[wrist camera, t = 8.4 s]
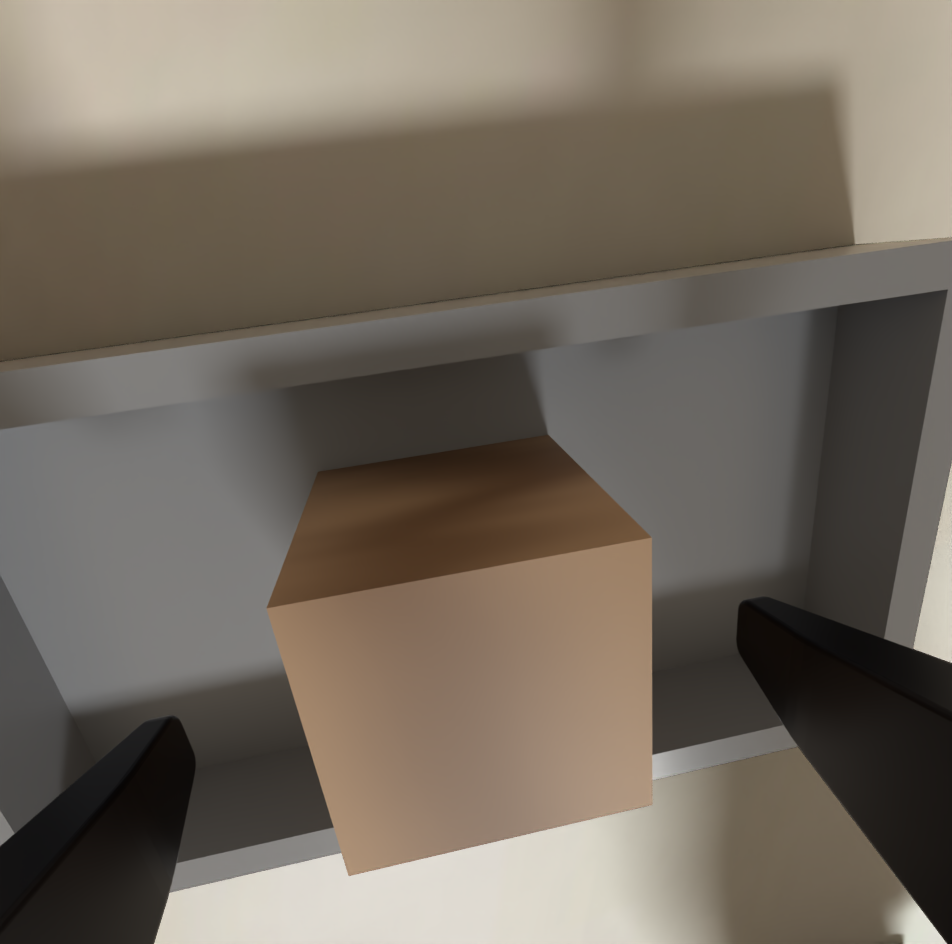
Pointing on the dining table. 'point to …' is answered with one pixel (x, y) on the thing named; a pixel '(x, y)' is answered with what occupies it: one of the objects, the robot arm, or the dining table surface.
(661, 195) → the dining table surface
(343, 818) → the walnut block
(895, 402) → the grey tray
